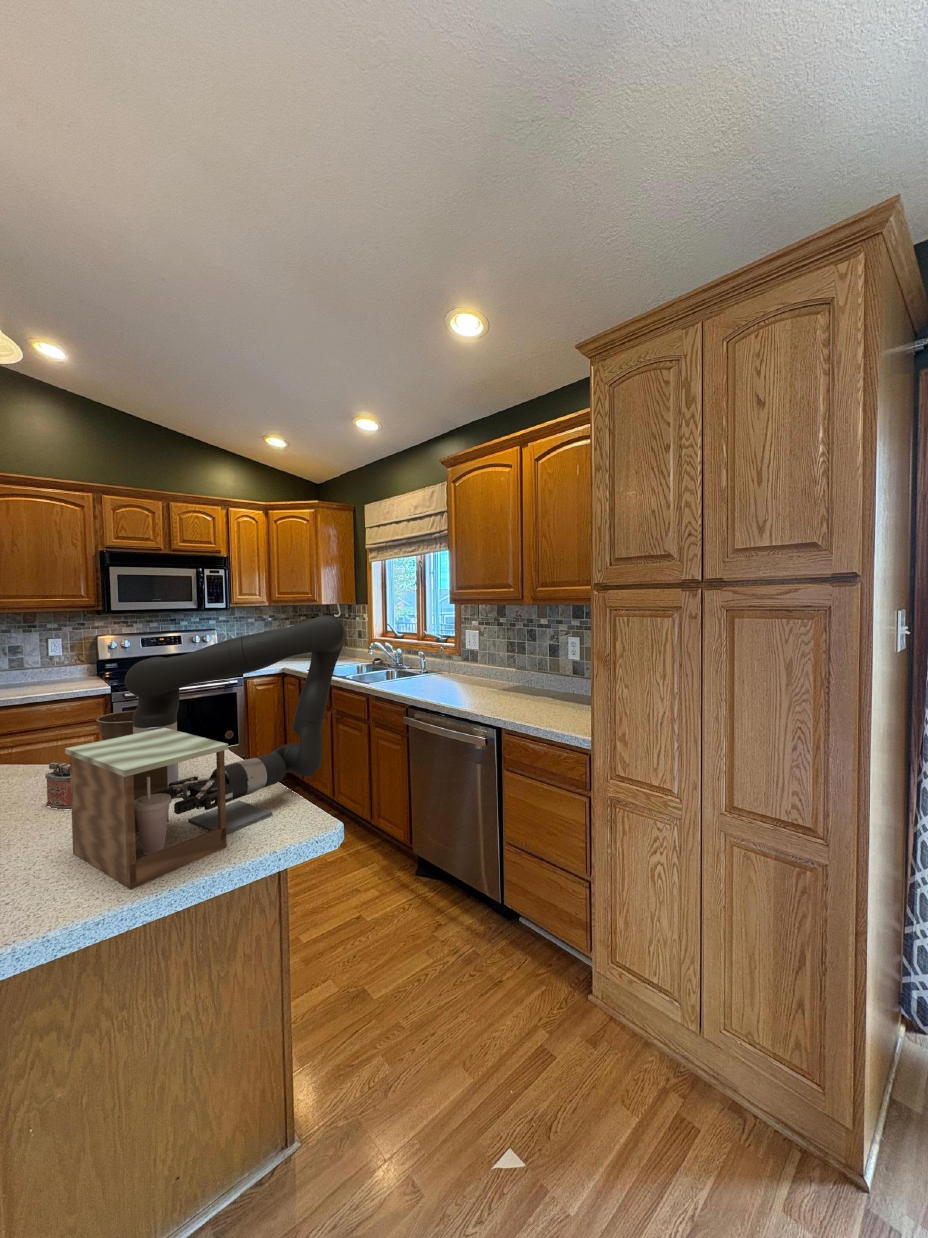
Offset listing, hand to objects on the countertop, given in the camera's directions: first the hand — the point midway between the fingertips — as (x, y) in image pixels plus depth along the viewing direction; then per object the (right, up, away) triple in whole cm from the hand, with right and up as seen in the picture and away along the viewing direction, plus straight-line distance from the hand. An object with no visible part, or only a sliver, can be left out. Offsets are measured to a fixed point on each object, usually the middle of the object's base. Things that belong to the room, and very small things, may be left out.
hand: (163, 804), depth 100 cm
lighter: (-34, -8, +19) cm, 40 cm away
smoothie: (-1, -8, -1) cm, 9 cm away
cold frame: (-1, -8, -1) cm, 8 cm away
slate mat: (+8, -8, +12) cm, 16 cm away
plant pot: (-32, -7, +41) cm, 53 cm away
